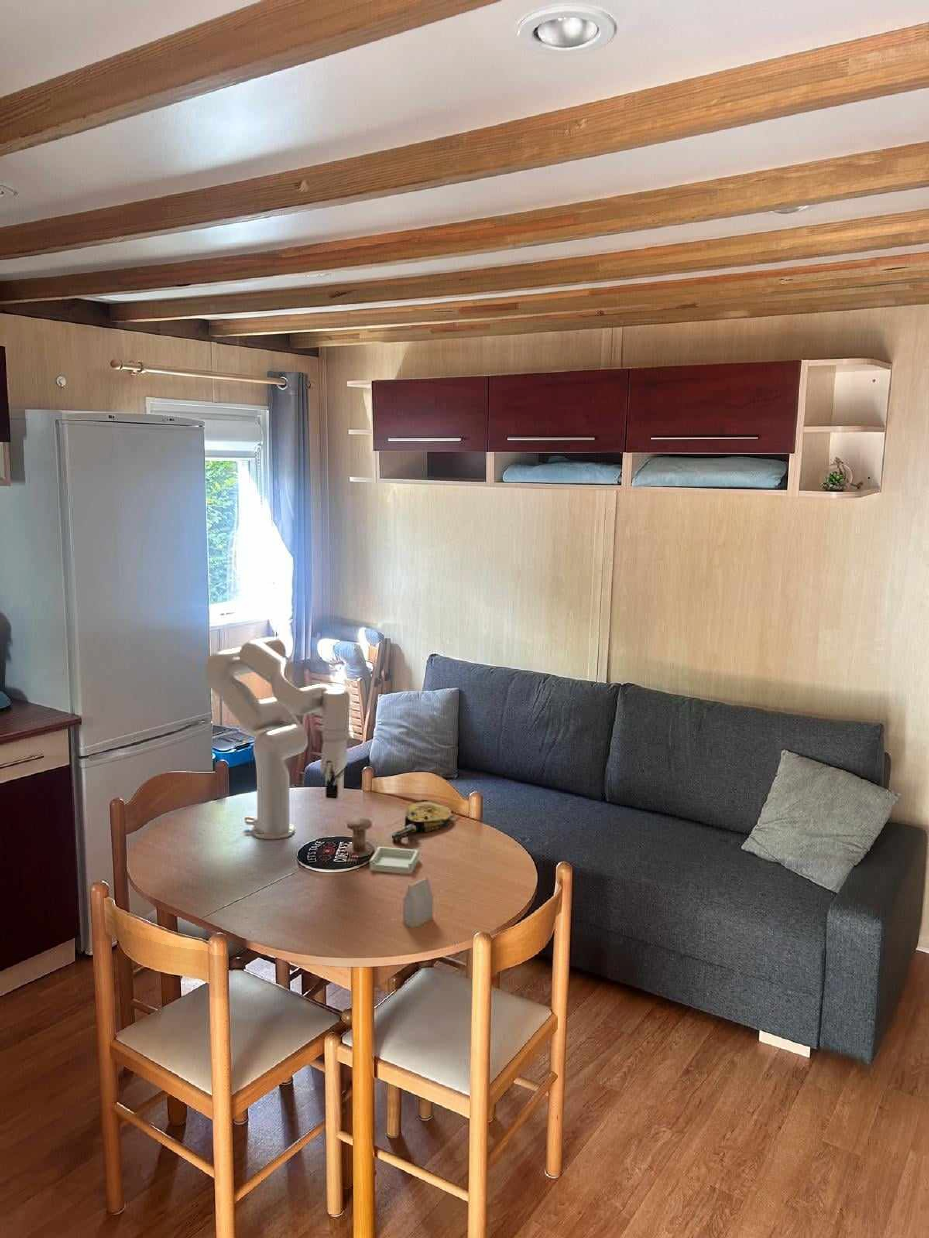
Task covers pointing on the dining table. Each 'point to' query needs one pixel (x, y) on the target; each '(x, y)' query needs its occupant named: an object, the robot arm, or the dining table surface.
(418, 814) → the pulley block
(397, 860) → the open tray
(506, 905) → the dining table surface
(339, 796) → the white grey rectangular block
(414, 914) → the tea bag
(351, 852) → the knob
